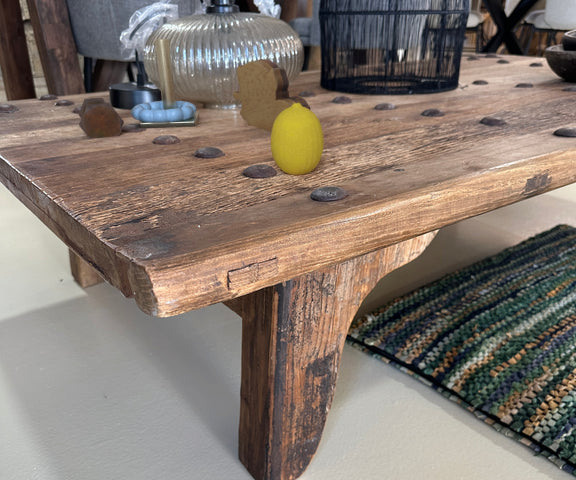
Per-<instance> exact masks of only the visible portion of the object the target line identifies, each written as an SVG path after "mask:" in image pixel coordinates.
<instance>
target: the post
mask: <svg viewBox="0 0 576 480" xmlns="http://www.w3.org/2000/svg"><path fill="white" fill-rule="evenodd" d="M154 43H155V51H156V59H157V60H156V61H157V68H158V77H159V87H160V96H161V101H162V104H163V110H168V109H176V101H177V100H176V92H175V81H174V71H173V64H172V54H171V43H170V38H155V39H154ZM199 121H200V112H199V111H196V113H195V115H194V116H193V117H192V118H189V119H186V120H182V121H175V122H164V123H150V122H141V121H140V123H139V124H140V125H139V126H140V129H171V128H172V129H173V128H174V129H175V128H197V127H198V123H199Z"/></svg>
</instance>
